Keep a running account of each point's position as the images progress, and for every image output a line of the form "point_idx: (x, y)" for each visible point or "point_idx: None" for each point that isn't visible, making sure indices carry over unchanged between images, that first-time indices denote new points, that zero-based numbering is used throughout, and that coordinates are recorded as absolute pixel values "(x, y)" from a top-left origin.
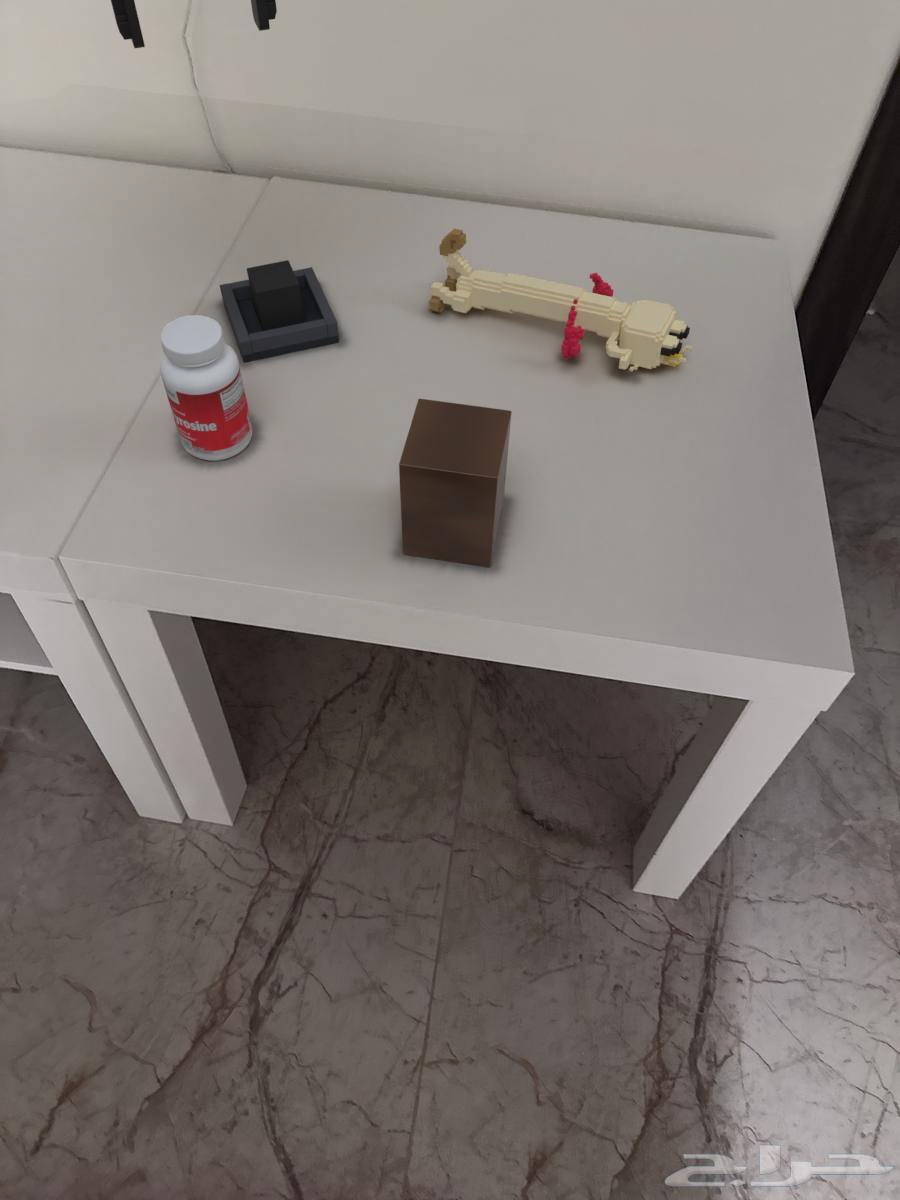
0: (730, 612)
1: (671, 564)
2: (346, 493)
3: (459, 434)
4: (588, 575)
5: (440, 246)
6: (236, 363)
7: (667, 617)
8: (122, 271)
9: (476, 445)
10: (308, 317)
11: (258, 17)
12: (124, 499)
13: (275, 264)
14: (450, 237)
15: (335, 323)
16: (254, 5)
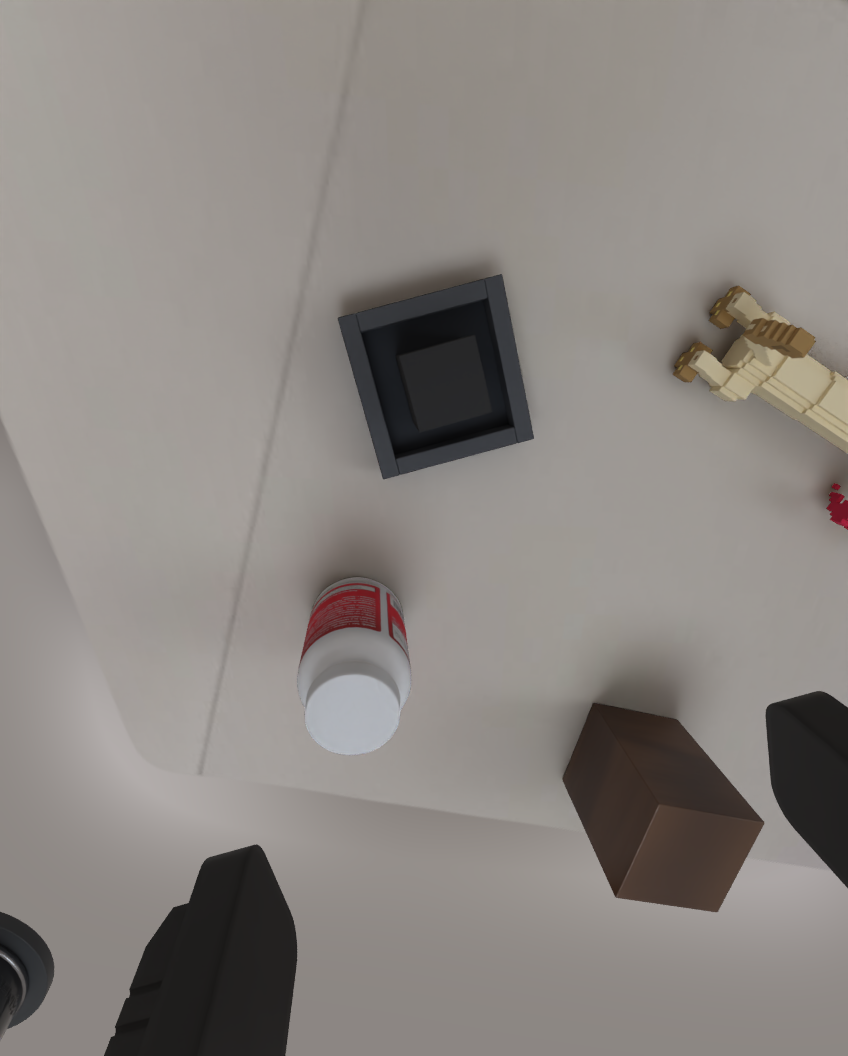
0: None
1: None
2: (511, 703)
3: (693, 857)
4: None
5: (753, 335)
6: (410, 686)
7: (782, 841)
8: (134, 190)
9: (708, 873)
10: None
11: (819, 855)
12: (256, 706)
13: (451, 347)
14: (784, 344)
15: (530, 439)
16: (838, 827)
